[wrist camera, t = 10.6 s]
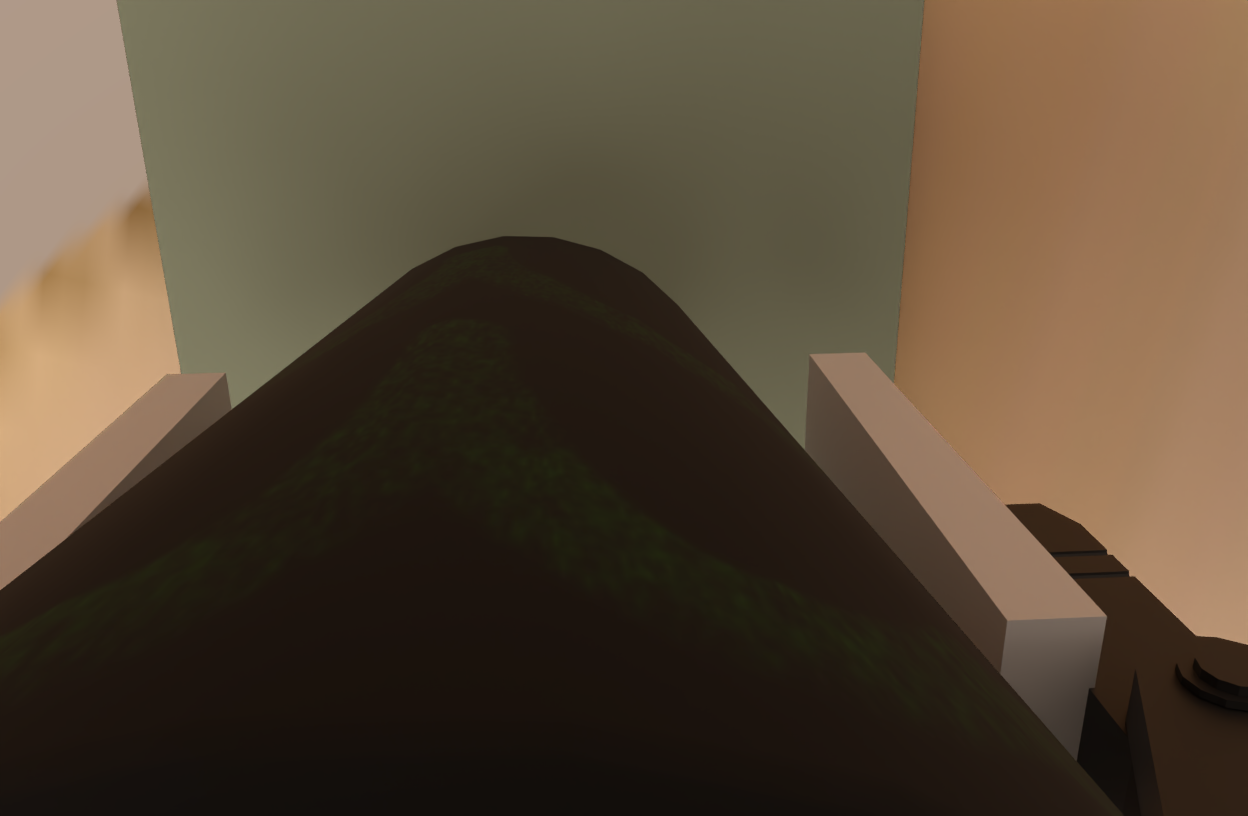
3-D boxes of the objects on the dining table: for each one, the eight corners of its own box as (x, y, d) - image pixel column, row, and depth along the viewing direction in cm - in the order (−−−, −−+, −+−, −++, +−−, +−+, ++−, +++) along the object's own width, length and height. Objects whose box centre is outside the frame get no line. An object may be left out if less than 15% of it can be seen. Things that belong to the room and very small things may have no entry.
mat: (918, -62, 18) (929, -65, 18) (866, 616, 23) (873, 630, 23) (121, -52, 18) (107, -55, 17) (239, 642, 23) (230, 658, 22)
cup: (896, 408, 15) (1855, 1511, 4) (550, 732, 17) (526, 2156, 6) (499, 27, 13) (104, 55, 2) (148, 442, 15) (-1197, 1803, 3)
